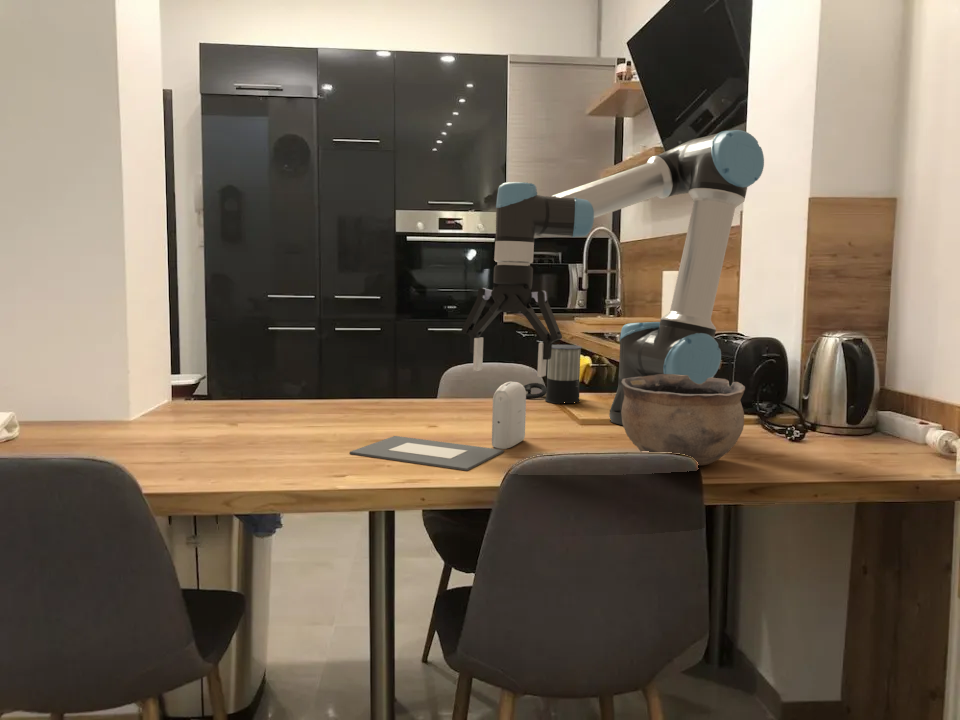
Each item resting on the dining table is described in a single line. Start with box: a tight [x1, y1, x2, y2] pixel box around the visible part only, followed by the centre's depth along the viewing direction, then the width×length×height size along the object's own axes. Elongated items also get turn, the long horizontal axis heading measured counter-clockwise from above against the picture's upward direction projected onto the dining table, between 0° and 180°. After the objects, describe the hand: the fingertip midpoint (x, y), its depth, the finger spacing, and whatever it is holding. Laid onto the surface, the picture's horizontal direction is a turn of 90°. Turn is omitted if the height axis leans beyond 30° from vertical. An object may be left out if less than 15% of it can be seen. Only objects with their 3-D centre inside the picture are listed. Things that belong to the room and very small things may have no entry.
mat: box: [349, 435, 505, 471], centre depth 146 cm, size 24×16×1 cm, turn 65°
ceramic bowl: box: [621, 374, 746, 466], centre depth 142 cm, size 22×22×15 cm
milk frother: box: [523, 344, 583, 405], centre depth 208 cm, size 14×16×15 cm
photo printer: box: [491, 381, 527, 450], centre depth 154 cm, size 10×4×12 cm, turn 157°
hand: (509, 373), depth 153 cm, fingers open, 13 cm apart
